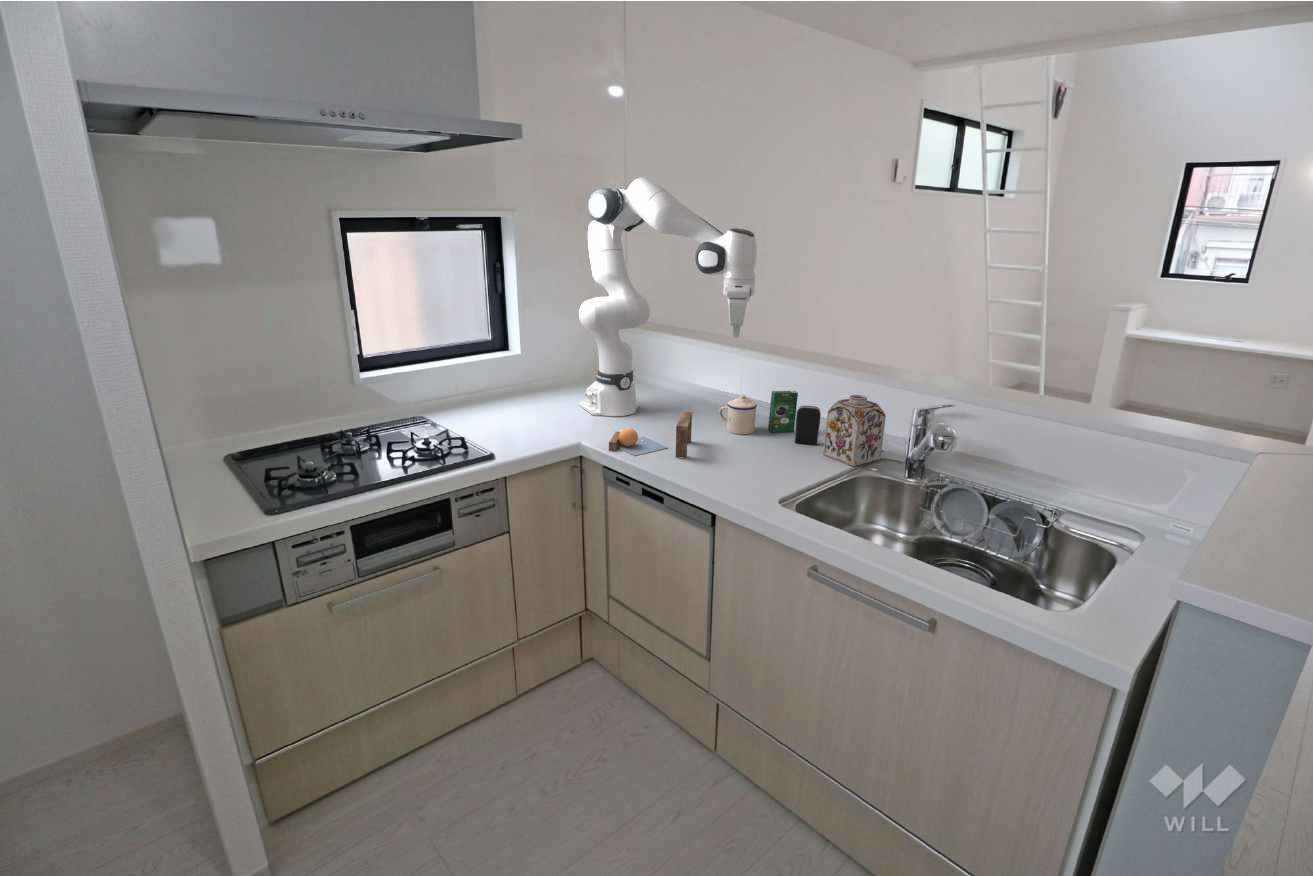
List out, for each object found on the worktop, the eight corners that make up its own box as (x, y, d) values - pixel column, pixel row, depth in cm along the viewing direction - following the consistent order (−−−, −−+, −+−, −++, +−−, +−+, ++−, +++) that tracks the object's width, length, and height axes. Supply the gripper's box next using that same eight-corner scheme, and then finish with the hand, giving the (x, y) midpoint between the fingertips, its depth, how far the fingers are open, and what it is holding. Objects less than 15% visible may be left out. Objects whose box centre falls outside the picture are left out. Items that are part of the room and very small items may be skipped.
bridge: (675, 457, 190) (676, 425, 187) (681, 440, 203) (682, 411, 200) (686, 458, 189) (687, 426, 186) (691, 441, 203) (692, 411, 200)
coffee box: (791, 429, 216) (794, 389, 212) (795, 432, 213) (798, 391, 209) (767, 430, 214) (770, 390, 210) (770, 433, 212) (773, 392, 207)
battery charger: (818, 441, 204) (821, 405, 201) (817, 445, 201) (821, 409, 197) (794, 439, 206) (797, 403, 202) (793, 443, 203) (797, 407, 199)
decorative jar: (853, 467, 184) (860, 404, 179) (821, 455, 193) (827, 394, 188) (882, 459, 191) (890, 398, 185) (850, 448, 200) (856, 389, 194)
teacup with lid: (758, 429, 216) (761, 393, 212) (749, 437, 208) (752, 400, 204) (723, 423, 221) (725, 389, 217) (713, 431, 213) (714, 395, 209)
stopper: (608, 450, 194) (608, 442, 193) (615, 439, 204) (615, 431, 203) (615, 450, 194) (615, 442, 193) (622, 439, 203) (622, 431, 203)
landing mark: (611, 444, 199) (611, 444, 199) (644, 437, 206) (644, 436, 206) (634, 456, 190) (634, 455, 190) (668, 448, 197) (668, 447, 197)
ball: (615, 427, 197) (633, 422, 195) (621, 435, 201) (639, 430, 200) (616, 443, 194) (635, 438, 193) (623, 452, 199) (641, 447, 197)
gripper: (729, 284, 202) (726, 330, 207) (726, 292, 183) (723, 342, 187) (750, 285, 201) (747, 331, 206) (749, 292, 182) (746, 343, 187)
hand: (736, 336), depth 196 cm, fingers closed
